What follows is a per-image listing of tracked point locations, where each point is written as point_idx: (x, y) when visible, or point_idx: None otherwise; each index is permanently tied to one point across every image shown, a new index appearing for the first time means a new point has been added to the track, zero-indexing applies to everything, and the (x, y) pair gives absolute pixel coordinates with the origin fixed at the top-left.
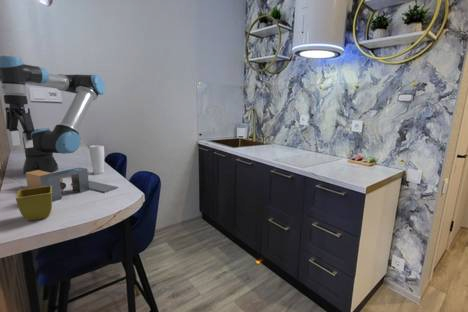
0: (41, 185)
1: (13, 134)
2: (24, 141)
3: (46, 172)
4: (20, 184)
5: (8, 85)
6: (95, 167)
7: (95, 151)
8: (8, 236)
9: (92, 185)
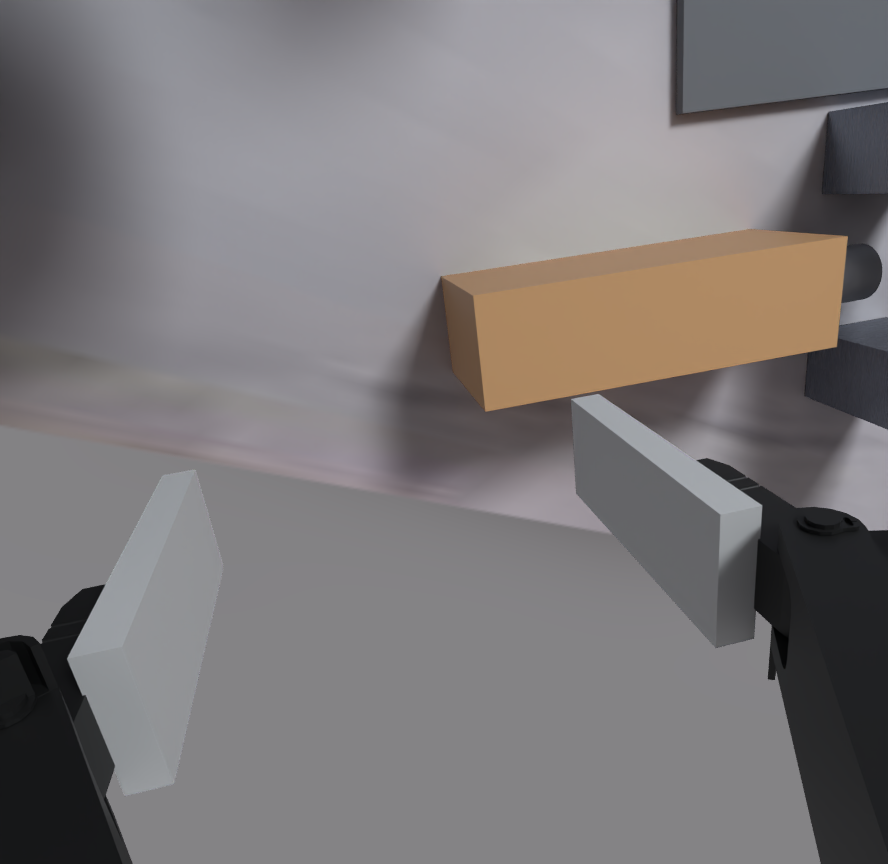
0: (886, 427)
1: (177, 685)
2: (628, 542)
3: (638, 284)
4: (314, 382)
5: None
6: None
7: None
8: None
9: (881, 22)
